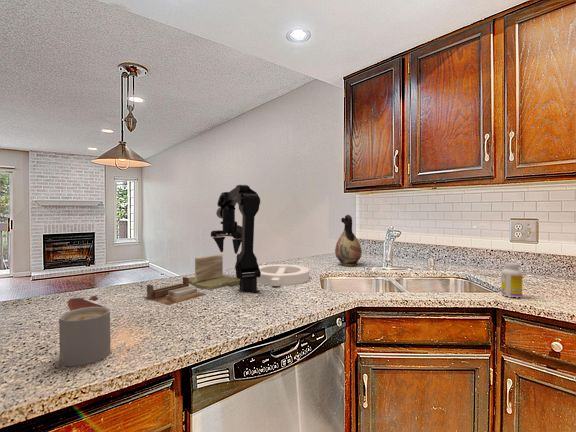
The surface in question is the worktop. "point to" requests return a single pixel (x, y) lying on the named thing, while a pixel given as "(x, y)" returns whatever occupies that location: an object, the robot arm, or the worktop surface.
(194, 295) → the oak offcut
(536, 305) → the worktop surface
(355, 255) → the ceramic jug
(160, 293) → the walnut rack
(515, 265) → the supplement bottle
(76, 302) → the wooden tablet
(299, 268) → the ring with crossbar
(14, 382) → the worktop surface
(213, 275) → the birch sheet
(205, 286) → the decorative tile
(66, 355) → the coffee mug
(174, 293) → the grey offcut
